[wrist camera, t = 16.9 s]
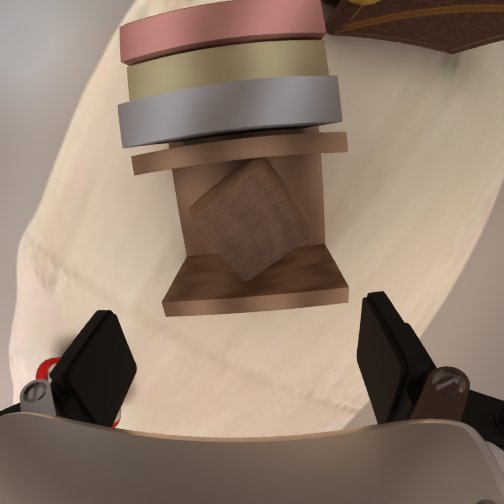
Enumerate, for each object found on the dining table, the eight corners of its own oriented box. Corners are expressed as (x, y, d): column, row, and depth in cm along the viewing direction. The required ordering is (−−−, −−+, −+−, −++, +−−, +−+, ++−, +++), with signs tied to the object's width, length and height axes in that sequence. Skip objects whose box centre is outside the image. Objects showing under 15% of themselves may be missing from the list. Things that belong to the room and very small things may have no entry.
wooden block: (220, 232, 34) (185, 327, 17) (194, 202, 33) (131, 271, 16) (285, 183, 32) (314, 237, 15) (259, 150, 31) (259, 165, 14)
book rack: (305, 45, 27) (342, -20, 12) (322, 255, 36) (362, 338, 21) (163, 63, 28) (93, 17, 13) (192, 266, 37) (153, 352, 22)
